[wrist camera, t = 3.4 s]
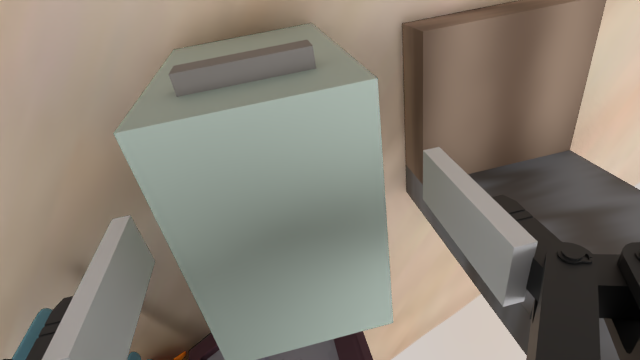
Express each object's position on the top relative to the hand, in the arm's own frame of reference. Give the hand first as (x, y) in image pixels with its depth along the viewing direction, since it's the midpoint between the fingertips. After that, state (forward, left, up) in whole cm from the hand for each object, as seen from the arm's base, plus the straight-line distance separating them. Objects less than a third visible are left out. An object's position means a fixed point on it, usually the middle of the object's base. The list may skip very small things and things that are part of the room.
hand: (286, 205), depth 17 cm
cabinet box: (0, 0, -9) cm, 9 cm away
